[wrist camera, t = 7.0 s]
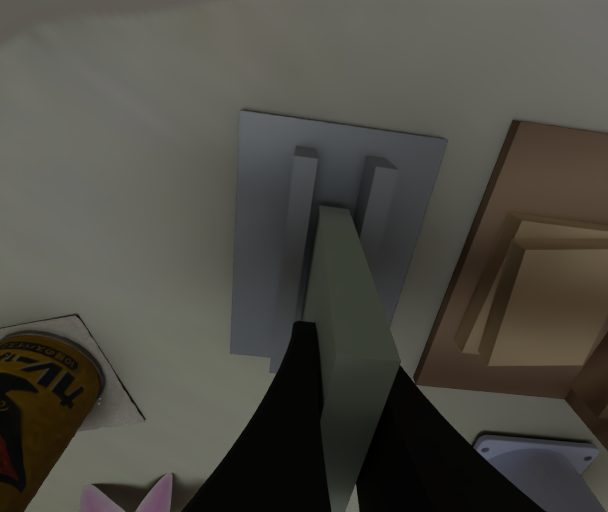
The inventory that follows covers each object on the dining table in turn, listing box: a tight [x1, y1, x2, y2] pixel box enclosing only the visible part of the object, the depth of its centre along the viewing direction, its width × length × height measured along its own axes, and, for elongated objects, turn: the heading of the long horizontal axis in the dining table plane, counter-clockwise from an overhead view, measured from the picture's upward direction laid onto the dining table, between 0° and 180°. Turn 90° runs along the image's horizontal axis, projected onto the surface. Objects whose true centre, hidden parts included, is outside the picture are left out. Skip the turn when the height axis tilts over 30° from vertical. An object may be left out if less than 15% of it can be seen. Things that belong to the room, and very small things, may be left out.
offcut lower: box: [454, 212, 608, 355], centre depth 15 cm, size 7×5×1 cm
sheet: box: [300, 205, 401, 512], centre depth 11 cm, size 6×1×8 cm, turn 172°
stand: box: [230, 110, 448, 373], centre depth 15 cm, size 12×8×2 cm, turn 173°
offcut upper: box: [478, 239, 608, 366], centre depth 15 cm, size 6×4×1 cm
